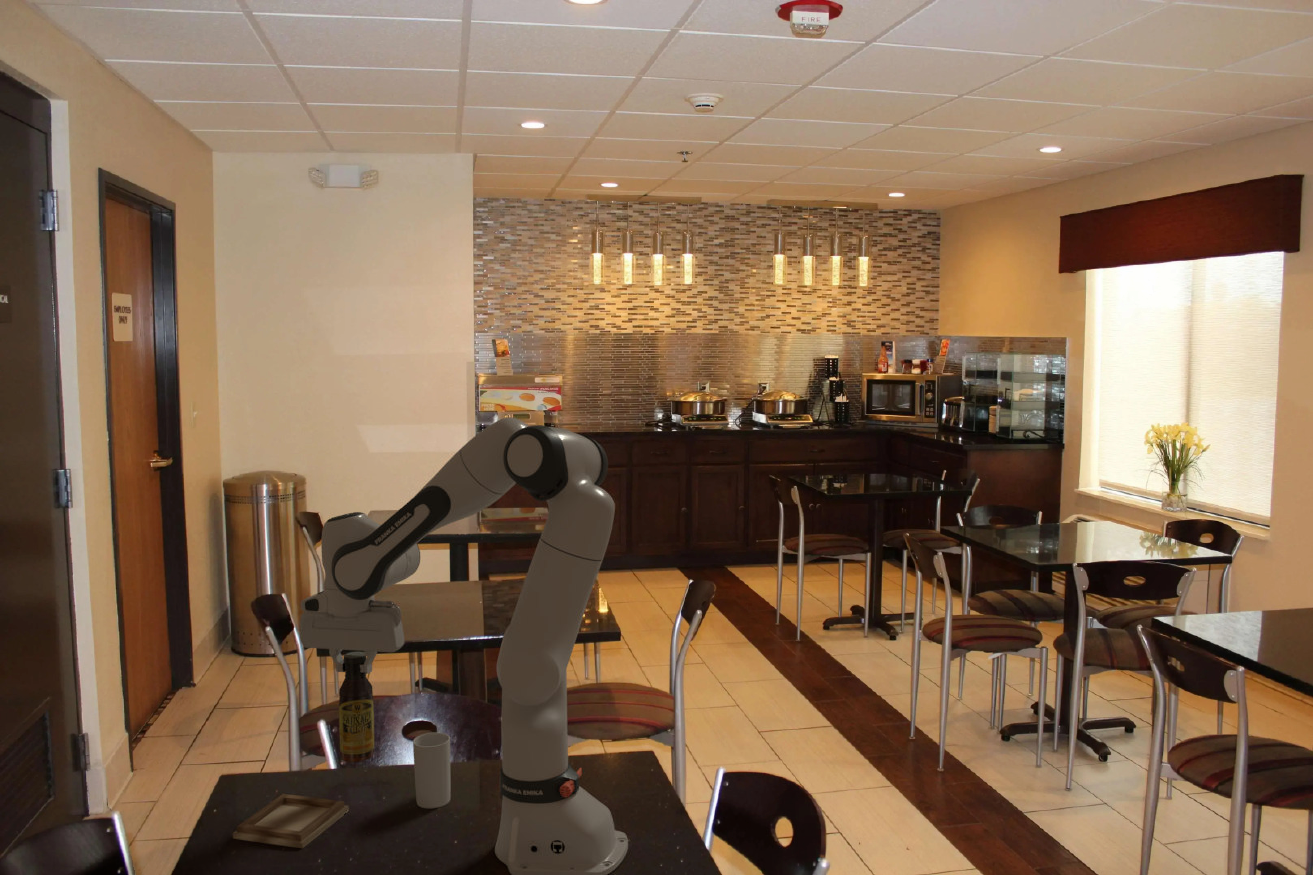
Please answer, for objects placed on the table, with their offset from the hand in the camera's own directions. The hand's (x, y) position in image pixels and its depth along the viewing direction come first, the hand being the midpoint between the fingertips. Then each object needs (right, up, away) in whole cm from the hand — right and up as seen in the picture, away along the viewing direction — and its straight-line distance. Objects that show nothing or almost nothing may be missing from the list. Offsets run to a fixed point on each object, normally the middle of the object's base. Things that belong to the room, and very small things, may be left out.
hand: (354, 671), depth 186 cm
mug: (+15, -25, +3) cm, 29 cm away
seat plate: (-9, -26, -7) cm, 28 cm away
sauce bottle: (0, -17, +2) cm, 17 cm away
